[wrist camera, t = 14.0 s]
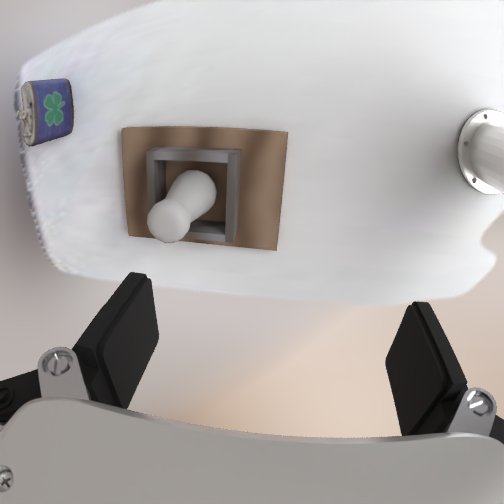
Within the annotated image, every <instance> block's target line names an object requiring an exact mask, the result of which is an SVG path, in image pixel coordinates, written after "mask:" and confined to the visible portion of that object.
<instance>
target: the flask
mask: <svg viewBox="0 0 504 504" xmlns="http://www.w3.org/2000/svg"><path fill="white" fill-rule="evenodd" d="M71 91H72V90H71V85H70V83H69V80H67V79H51V80H39V81H28V82H26V83H25V84H24V85H23V86H22V88H21V94H22V101H23V109H24V110H21V111H19V110H18V111H17V114H16V117H17V116H18V115H19V119H20V120H21V119H22V120H23V122H24V134H23V137H24V141H25V142H26V144H27V145H28V146H29V147H30V146H35V145H38V144H41V143H44V142H47V141H51V140H53V139H57V138H60V137H64V136H66V135H68V134H70V133H72V130H73V123H74V122H73V120H74V109H73V108H74V107H73V99H72V92H71Z"/></svg>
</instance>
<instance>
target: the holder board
mask: <svg viewBox="0 0 504 504" xmlns="http://www.w3.org/2000/svg"><path fill="white" fill-rule="evenodd" d="M287 139H288V132H281V131H270V130H257V129H242V128H222V127H183V126H164V127H127V128H123V129H122V155H123V175H124V190H125V203H126V214H127V224H128V233H129V236H136V237H146V238H155V237H154V236H153V235H152V234H151V232H150V230H149V227H148V225H147V219H148V214H149V212H150V210H151V209H152V208H153V206H154V205H155V204H156V203H158V202H160V201H162V200H164V199H165V198H166V196H167V194H168V192H169V190H170V188H171V186H172V184H173V182H174V181H175V179H176V178H177V177H178V175H180V174H182V173H184V172H185V171H188V170H199V171H201V172H203V173H205V174H208V175H209V177H210V178H211V179H212V180H213V182H214V183H215V187H216V191H217V194H216V199H215V203H214V204H213V206H212V207H211V208H210V209H209V211H207V212H206V213H204V214H203V215H201V216H200V217H198V218H197V219H195V220H194V221H192V222H191V223H190V228H189V230H188V232H187V233H186V234H185V236H184V237H183V238H182V239H181V240H178V241H186V242H196V243H206V244H216V245H226V246H235V247H245V248H255V249H265V250H274V251H277V242H278V233H279V223H280V213H281V203H282V193H283V183H284V172H285V161H286V150H287Z"/></svg>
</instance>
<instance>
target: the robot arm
mask: <svg viewBox="0 0 504 504" xmlns="http://www.w3.org/2000/svg"><path fill="white" fill-rule="evenodd" d="M458 160H459V164H460V168H461V171H462V173H463V175H464V177H465V179H466V180H467V182H468V183H469V184H470V185H471V186H472V187H474V188H475V189H476V190H478V191H480V192H482V193H485V194H497V193H500V192H501V193H502V194H504V114H503V113H501V112H499V111H495V110H489V109H487V110H481V111H479V112H476V113H475V114H474V115H472V116H471V117H470V118H469V119H468V120H467V122H466V123H465V125H464V127H463V128H462V131H461V134H460V137H459V142H458ZM158 339H159V332H158V325H157V319H156V312H155V305H154V297H153V290H152V282H151V279H149V278H147V276H146V274H142V273H135V272H130V273H129V274H128V276H127V277H126V278H125V279H124V281H123V282H122V283H121V284H120V286H119V287H118V288H117V290H116V291H115V292H114V294H113V295H112V296H111V298H110V299H109V300H108V302H107V303H106V304H105V305H104V306H103V307H102V308H101V310H100V311H99V312H98V314H97V315H96V316H95V318H94V319H93V320H92V322H91V323H90V324H89V326H88V327H87V329H86V330H85V331H84V333H83V334H82V335H81V337H80V338H79V340H78V341H77V343H76V344H75V345H74V347H73V348H72V350H71V349H69V348H66V347H56V348H52V349H50V350H48V351H47V352H45V353H44V354H43V355H42V356H41V357H40V359H39V361H38V369H37V370H34V371H31V372H28V373H25V374H21V375H18V376H15V377H12V378H9V379H6V380H3V381H0V504H504V420H503V419H502V418H500V417H498V416H497V415H496V411H497V406H496V402H495V400H494V398H493V396H491V394H490V393H489V392H487V391H486V390H484V389H481V388H470V389H469V390H468V387H467V385H466V384H467V380H466V378H465V375H464V373H463V371H462V369H461V367H460V364H459V362H458V360H457V358H456V356H455V353H454V351H453V349H452V347H451V345H450V343H449V341H448V339H447V337H446V335H445V333H444V331H443V329H442V327H441V325H440V323H439V321H438V319H437V317H436V315H435V313H434V311H433V310H432V308H431V306H430V304H429V303H428V302H413V303H412V305H409V306H408V307H407V309H406V312H405V314H404V317H403V319H402V322H401V324H400V327H399V329H398V331H397V334H396V336H395V339H394V341H393V344H392V345H391V348H390V350H389V352H388V355H387V357H386V362H385V363H386V364H385V365H386V369H387V373H388V377H389V381H390V385H391V389H392V394H393V398H394V402H395V406H396V411H397V415H398V420H399V425H400V430H401V434H402V436H392V437H372V438H319V437H318V438H317V437H296V436H281V435H270V434H259V433H249V432H242V431H234V430H227V429H220V428H213V427H207V426H201V425H196V424H190V423H185V422H180V421H175V420H170V419H165V418H161V417H157V416H152V415H148V414H143V413H139V412H135V411H131V410H127V408H128V406H129V404H130V402H131V399H132V397H133V395H134V393H135V391H136V388H137V386H138V384H139V382H140V380H141V377H142V375H143V373H144V371H145V369H146V367H147V364H148V362H149V360H150V358H151V356H152V354H153V352H154V350H155V347H156V345H157V343H158Z"/></svg>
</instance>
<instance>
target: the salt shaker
mask: <svg viewBox="0 0 504 504" xmlns="http://www.w3.org/2000/svg"><path fill="white" fill-rule="evenodd" d="M216 194H217V191H216V187H215V183H214V182H213V180H212V179H211V178H210V177H209V175H208V174H205V173H203V172H201V171H199V170H188V171H185V172H184V173H182V174H180V175H178V177H177V178H176V179H175V181H174V182H173V184H172V186H171V188H170V190H169V192H168V194H167V196H166V198H165V199H164V200H162V201H160V202H158V203H156V204H155V205H154V206H153V208H152V209H151V210H150V212H149V214H148V219H147V225H148V227H149V230H150V232H151V234H152V235H153V236H154V237H155V238H156V239H158V240H160V241H162V242H164V243H174V242H176V241H178V240H181V239H182V238H183V237H184V236H185V234H186V233H187V232H188V230H189V228H190V223H191V222H192V221H194V220H195V219H197V218H198V217H200V216H201V215H203V214H204V213H206V212H207V211H209V209H210V208H211V207H212V206H213V204H214V203H215V199H216Z"/></svg>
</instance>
